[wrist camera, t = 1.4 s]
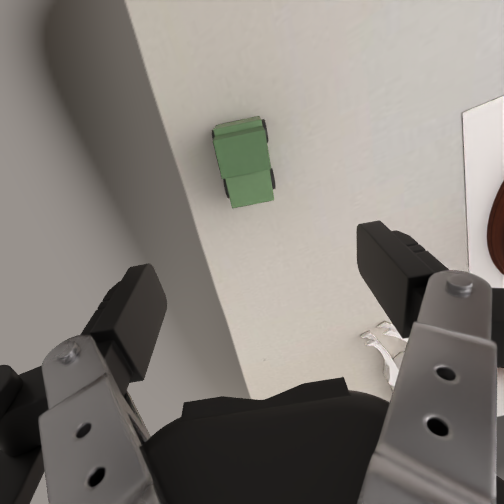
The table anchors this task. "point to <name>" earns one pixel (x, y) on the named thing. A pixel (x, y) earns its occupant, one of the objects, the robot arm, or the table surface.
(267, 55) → the table surface
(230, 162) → the toy truck
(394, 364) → the white giraffe figurine
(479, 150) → the airplane diorama
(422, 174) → the table surface
